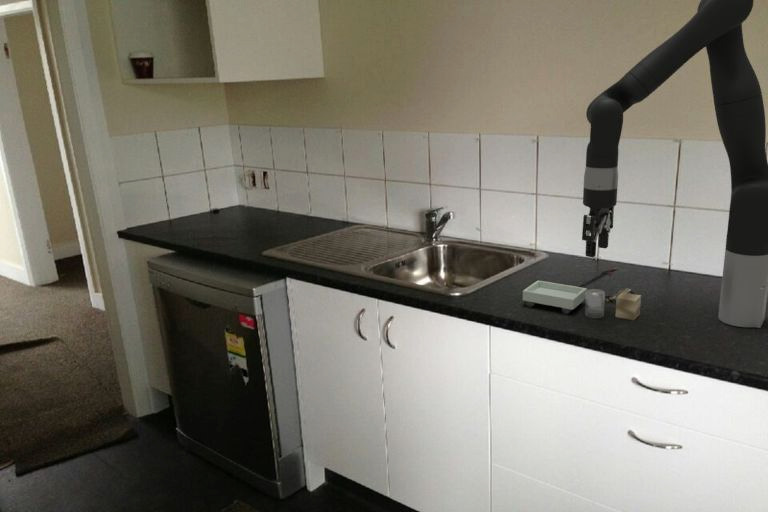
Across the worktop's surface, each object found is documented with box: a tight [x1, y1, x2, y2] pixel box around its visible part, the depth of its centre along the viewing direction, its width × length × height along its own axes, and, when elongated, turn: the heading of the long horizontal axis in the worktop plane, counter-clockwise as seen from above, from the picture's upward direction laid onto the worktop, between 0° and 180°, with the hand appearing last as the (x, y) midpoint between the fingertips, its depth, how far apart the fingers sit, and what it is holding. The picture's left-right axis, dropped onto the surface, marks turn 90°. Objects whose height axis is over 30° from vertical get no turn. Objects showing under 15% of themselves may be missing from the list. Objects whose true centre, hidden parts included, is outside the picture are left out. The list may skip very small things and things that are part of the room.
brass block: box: [615, 292, 642, 321], centre depth 157 cm, size 4×4×5 cm
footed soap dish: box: [522, 279, 588, 315], centre depth 166 cm, size 13×9×4 cm
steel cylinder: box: [584, 288, 606, 319], centre depth 158 cm, size 4×4×6 cm
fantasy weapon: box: [577, 266, 635, 304], centre depth 178 cm, size 29×2×15 cm
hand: (596, 252), depth 155 cm, fingers open, 8 cm apart
